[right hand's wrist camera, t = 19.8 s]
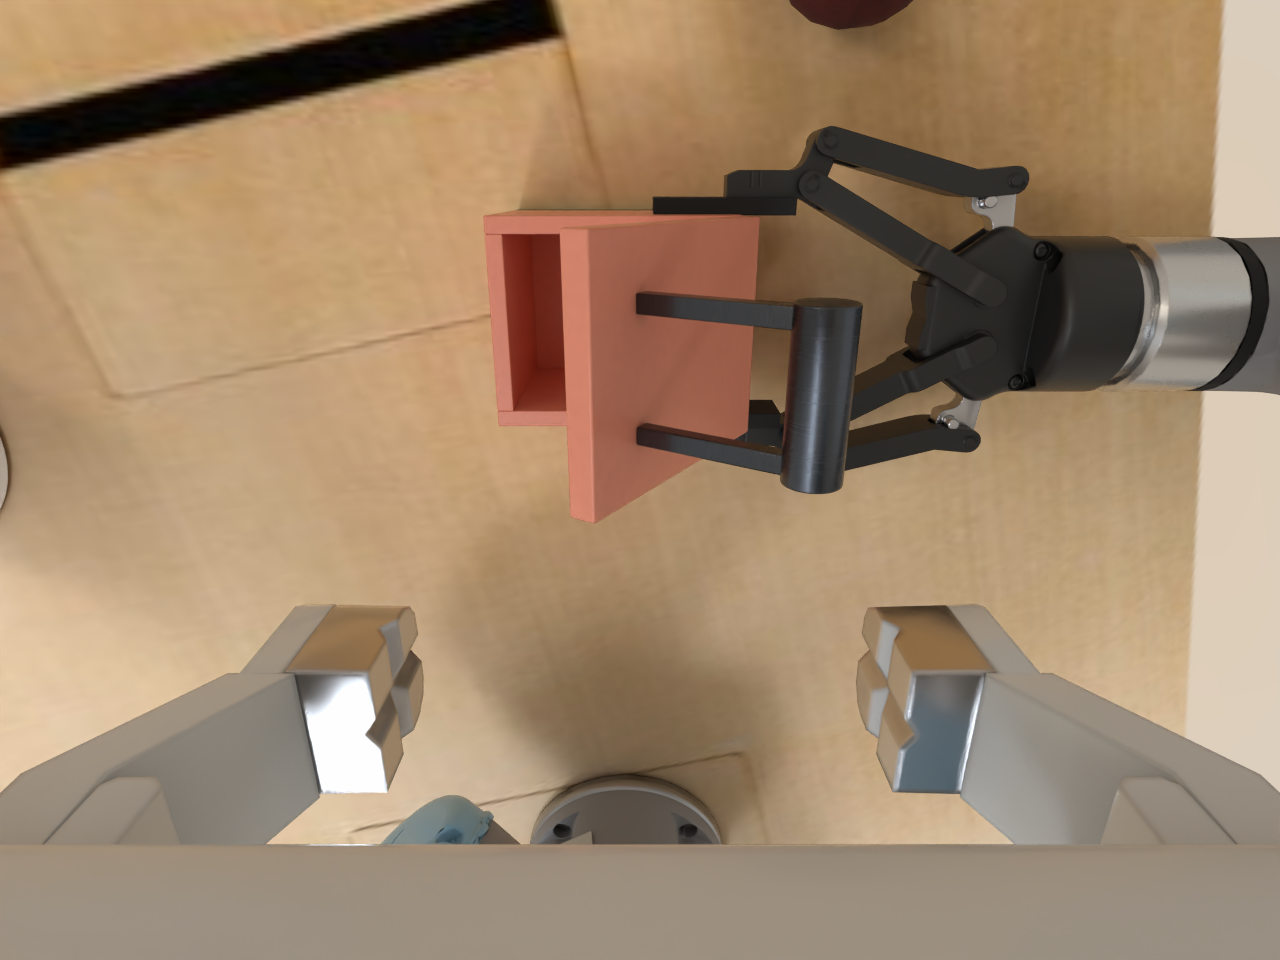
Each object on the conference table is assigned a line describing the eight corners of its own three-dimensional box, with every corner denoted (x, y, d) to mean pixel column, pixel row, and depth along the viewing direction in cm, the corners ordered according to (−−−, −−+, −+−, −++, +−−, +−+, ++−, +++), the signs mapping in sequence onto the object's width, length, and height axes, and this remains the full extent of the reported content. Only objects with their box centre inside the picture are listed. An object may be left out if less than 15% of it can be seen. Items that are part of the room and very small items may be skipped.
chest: (527, 377, 44) (498, 426, 35) (517, 209, 41) (482, 215, 32) (716, 377, 44) (736, 426, 35) (722, 209, 41) (747, 215, 32)
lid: (569, 517, 25) (801, 584, 21) (558, 227, 22) (833, 236, 18) (727, 428, 35) (908, 461, 31) (737, 216, 31) (944, 220, 27)
